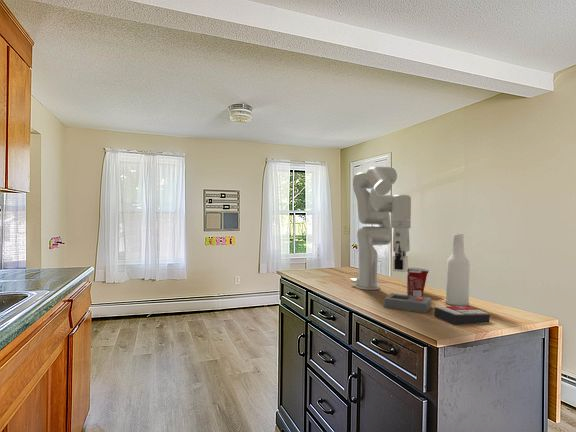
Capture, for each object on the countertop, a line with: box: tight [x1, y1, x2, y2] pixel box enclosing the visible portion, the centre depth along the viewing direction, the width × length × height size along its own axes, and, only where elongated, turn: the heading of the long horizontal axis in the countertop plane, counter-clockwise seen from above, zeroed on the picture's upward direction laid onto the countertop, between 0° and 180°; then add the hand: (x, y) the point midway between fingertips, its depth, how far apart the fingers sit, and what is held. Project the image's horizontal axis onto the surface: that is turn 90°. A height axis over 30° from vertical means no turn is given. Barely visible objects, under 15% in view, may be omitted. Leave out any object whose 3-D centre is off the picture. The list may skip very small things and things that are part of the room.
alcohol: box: [445, 233, 470, 306], centre depth 153 cm, size 9×9×30 cm
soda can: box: [406, 270, 424, 297], centre depth 165 cm, size 7×7×12 cm
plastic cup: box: [406, 266, 430, 293], centre depth 175 cm, size 11×11×12 cm
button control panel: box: [433, 305, 491, 326], centre depth 130 cm, size 11×4×15 cm
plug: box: [392, 251, 409, 273], centre depth 148 cm, size 5×5×8 cm
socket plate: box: [383, 292, 432, 314], centre depth 147 cm, size 16×12×4 cm
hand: (400, 268), depth 148 cm, fingers closed on plug, 4 cm apart
